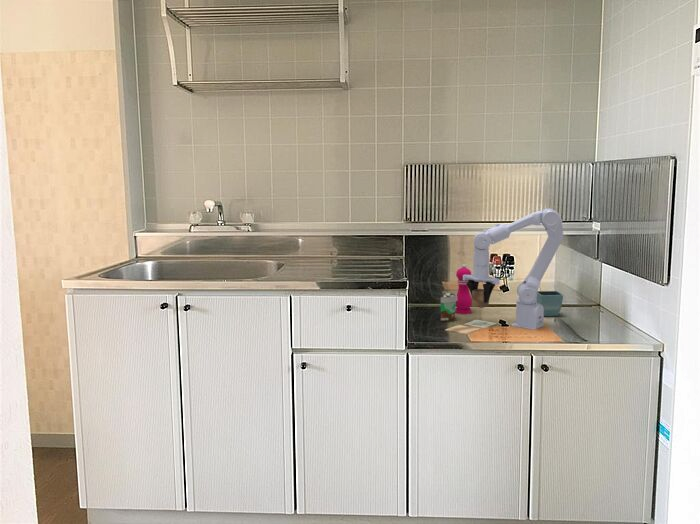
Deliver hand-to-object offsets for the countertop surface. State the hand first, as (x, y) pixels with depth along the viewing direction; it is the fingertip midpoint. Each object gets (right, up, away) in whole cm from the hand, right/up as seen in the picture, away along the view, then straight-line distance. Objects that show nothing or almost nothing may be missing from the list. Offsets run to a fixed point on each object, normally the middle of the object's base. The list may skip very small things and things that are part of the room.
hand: (480, 301), depth 237 cm
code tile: (0, -9, +1) cm, 9 cm away
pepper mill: (-3, -6, +20) cm, 21 cm away
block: (0, -2, 0) cm, 2 cm away
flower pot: (+30, -7, +15) cm, 34 cm away
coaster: (-8, -10, -7) cm, 15 cm away
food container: (-10, -8, +9) cm, 16 cm away
